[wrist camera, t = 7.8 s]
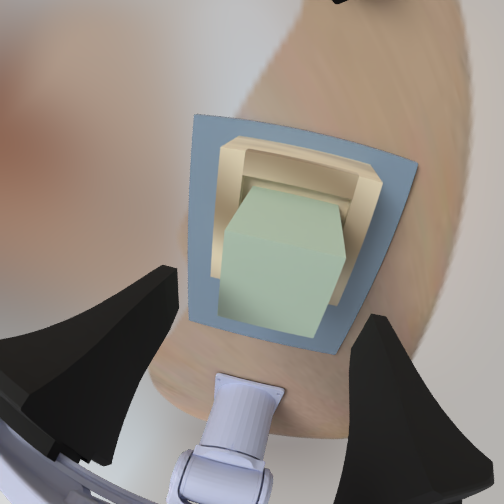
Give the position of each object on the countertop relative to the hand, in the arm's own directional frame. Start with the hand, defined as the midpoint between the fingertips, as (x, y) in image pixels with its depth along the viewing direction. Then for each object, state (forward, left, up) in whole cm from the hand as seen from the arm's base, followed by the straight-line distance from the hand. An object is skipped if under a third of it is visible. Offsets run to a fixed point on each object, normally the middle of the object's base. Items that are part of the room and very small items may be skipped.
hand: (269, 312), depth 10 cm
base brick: (0, 0, -9) cm, 9 cm away
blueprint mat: (-4, 0, -10) cm, 11 cm away
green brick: (0, 0, -6) cm, 6 cm away
